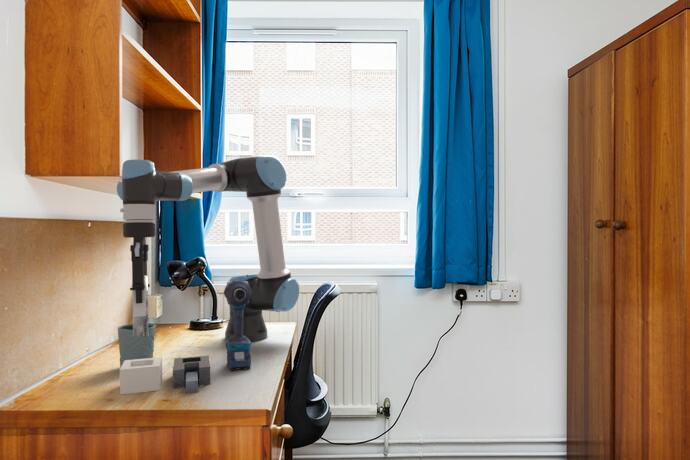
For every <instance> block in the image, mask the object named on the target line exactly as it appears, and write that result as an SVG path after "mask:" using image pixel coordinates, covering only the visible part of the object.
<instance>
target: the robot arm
mask: <svg viewBox="0 0 690 460" xmlns="http://www.w3.org/2000/svg"><path fill="white" fill-rule="evenodd" d="M286 172H287V171H286V169H285V166H284V164H283V163H282V161H280V159H279V158H278V157H276V155H263V154H261V155H257V156H247V157H240V158H238V157H237V158H235V159H231V160H227V161H223V162H220V163H219V162H218V163H213V164H210V165H209V166H207V167H203V168H195V169H194V168H192V169H183V170H174V171H163V170H162V171H161V170H156V168H155V163H154V161H151V160H149V159H127V160H125V161H124V162H123V164H122V169H121V178H120V179H122V182H119V181H118V182H117V185H116V193H117V196H118V197H119V198H120V200H122V207H123V208H120V210H119V212H120V213H122V220H123V221H124V222H123V224H122V235H123V238H125V239H126V238H133V243H132V244H131V245H130V247H129V249H130V252H131V253H130V255H131V257H130V259H131V272H132V273H131V280H132V281H131V287H130V288H129V291H132V290H133V297H132V307H133V306H134V317H139V316H146V300H145V290H144V289H145V286H144V276H148V260H149V257H148V255H149V254H148V253H149V244H146V243H147V242H146V238H155V236H156V223H155V222H154V221H155V220H156V202H161V201H163V202H164V201H175V202H180V201H182V202H183V201H187V200H188V199H190V198H191V196H192V195H193V194H197V193H203V192H210V191H212V192H215V193H221V192H234V193H235V192H237V193H238V192H240V193H244V192H245V193H246V199H248V200H249V201H250V202H251V203H252V211H253V212H252V213H253V220H254V227H255V234H256V235H255V236H256V241H257V242H256V244H257V250H258V251H257V253H258V260H259V267H260V271H259V272H258V273H251V274H243V275H234V276H232V277H230V279H229V280H228V282H230V281H233V280H241V281H247V282H248V284H249V286H250V288H251V290H252V293H251V297H250V299H249V302H248V304H246V308H244V310H243V316H244V317H243V335H245V336H246V337H247V338H248V339H249V340H250V341H251V342H256V341H257V342H258V341H261V340H264V339H266V338H268V329H267V325H266V323H265V320H264V317H263V311H265V312H266V311H267V312H276V313H280V312H281V313H283V312H285V313H286V312H290V311H291V310H292V309H294V307H295V305H297V302H298V299H299V296H300V285H299V282H298V281H297V280H296V279H295V278H293V277H291V270H290V269H288V268H287V267H286V262H285V253H284V244H283V236H282V228H281V226H282V225H281V220H280V219H281V218H280V212H279V202H278V199H279V197H281V195H282V191H281V190H282V189H284V188H285V186H286V182H287V173H286ZM132 284H133V285H132ZM150 286H151V285H150V283H148V288H150ZM228 305H229V304H228ZM228 307H229V317H228V322H227V326H226V329H225V333H224V338H225V340H226V341H227V340H228V339H229V338H230V337H231V336H233V335H234V330H233V309H232V305H229V306H228Z"/></svg>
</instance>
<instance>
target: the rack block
mask: <svg viewBox="0 0 690 460" xmlns="http://www.w3.org/2000/svg"><path fill="white" fill-rule="evenodd" d="M162 383H163V358H162V357H161V356H160V357H153V358H146V359H135V360H125V361H124V363H123V364H122V366H121V368H119V395H129V394H138V393H139V394H140V393H146V392H148V393H149V391H150V392H156V391H158V392H159V391H161V387H162Z"/></svg>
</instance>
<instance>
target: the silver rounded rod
mask: <svg viewBox="0 0 690 460" xmlns="http://www.w3.org/2000/svg"><path fill="white" fill-rule="evenodd" d="M148 284H149V276H148V275H147V276H144V286H145V289H144V290H145V300H146V316H139V317H134V306H133V305H132V324H133V337H146V336H148V335H149V331H148V323H149V287H148ZM132 285H133V284H132V283H131V286H132ZM131 293H132V295H131V296H132V298H133V290H131Z"/></svg>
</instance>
